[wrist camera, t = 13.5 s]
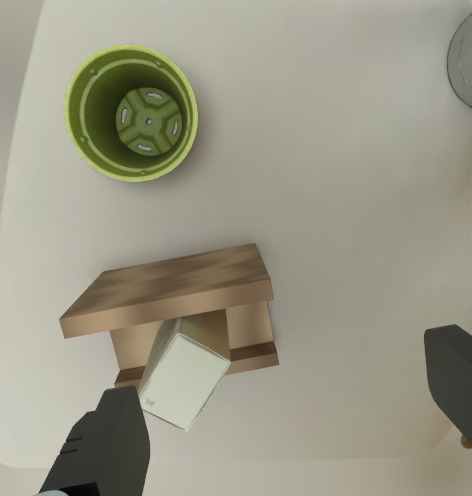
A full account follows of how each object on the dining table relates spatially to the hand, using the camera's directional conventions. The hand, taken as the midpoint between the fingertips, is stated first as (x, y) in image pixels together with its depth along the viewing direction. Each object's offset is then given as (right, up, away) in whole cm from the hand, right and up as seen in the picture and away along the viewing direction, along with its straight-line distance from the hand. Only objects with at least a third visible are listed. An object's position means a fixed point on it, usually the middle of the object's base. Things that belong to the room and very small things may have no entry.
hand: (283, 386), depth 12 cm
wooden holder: (-6, -2, +31) cm, 32 cm away
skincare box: (-6, -3, +29) cm, 30 cm away
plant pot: (-9, +15, +27) cm, 32 cm away
